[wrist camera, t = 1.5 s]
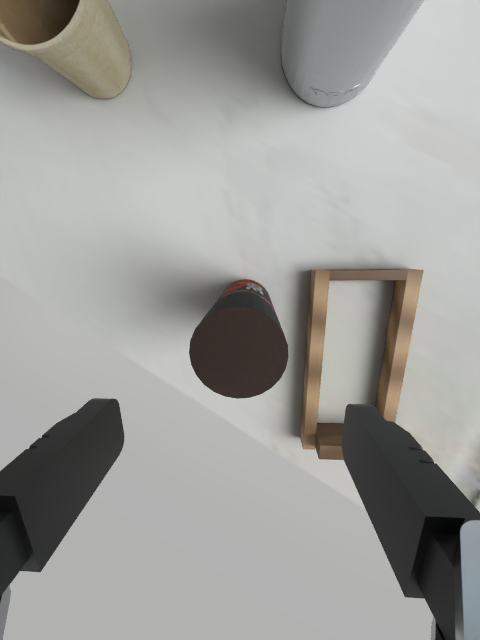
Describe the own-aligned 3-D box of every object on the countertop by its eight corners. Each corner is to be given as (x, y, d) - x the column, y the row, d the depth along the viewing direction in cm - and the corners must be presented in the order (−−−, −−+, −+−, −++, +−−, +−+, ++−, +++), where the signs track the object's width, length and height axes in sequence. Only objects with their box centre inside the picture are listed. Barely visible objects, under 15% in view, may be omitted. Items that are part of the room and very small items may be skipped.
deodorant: (221, 327, 30) (190, 395, 15) (221, 278, 28) (187, 304, 14) (269, 328, 29) (284, 400, 15) (271, 280, 28) (292, 307, 13)
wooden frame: (311, 270, 27) (320, 272, 23) (411, 269, 27) (438, 271, 23) (300, 437, 33) (306, 461, 29) (381, 440, 33) (398, 465, 29)
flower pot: (46, 97, 24) (-63, 14, 16) (62, -21, 22) (-57, -193, 13) (134, 135, 25) (73, 73, 16) (159, 24, 22) (103, -115, 14)
